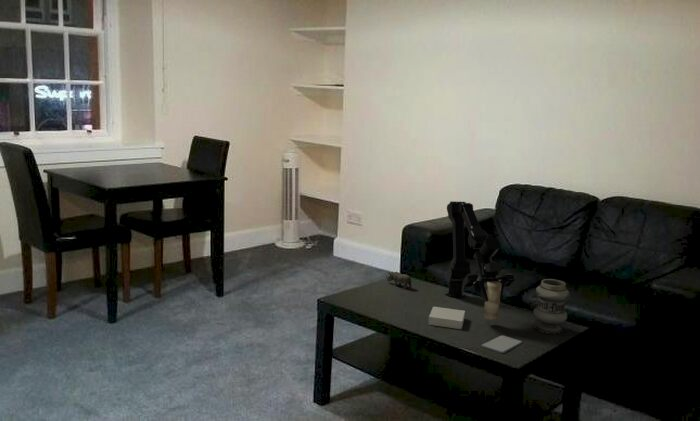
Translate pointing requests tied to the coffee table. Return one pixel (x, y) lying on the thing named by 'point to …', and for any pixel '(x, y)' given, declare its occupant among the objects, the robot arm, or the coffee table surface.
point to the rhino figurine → (400, 279)
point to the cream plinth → (446, 317)
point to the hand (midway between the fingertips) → (494, 301)
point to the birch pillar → (492, 300)
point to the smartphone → (501, 344)
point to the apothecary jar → (551, 305)
